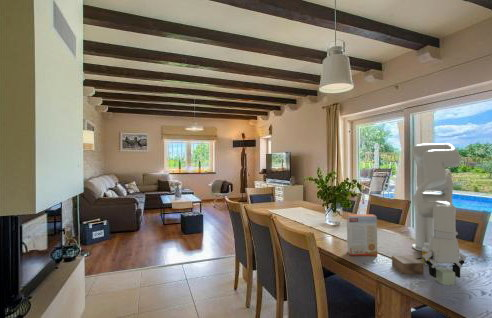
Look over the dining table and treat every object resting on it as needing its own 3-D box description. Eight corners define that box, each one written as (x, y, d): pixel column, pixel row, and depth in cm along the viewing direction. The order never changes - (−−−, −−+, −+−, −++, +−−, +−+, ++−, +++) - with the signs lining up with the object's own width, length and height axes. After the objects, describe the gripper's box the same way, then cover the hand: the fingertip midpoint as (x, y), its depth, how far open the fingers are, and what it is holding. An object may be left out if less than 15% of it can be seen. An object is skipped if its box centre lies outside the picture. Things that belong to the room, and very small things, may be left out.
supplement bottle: (419, 262, 130) (419, 242, 130) (429, 261, 130) (429, 241, 130) (427, 266, 124) (427, 245, 124) (438, 266, 125) (438, 245, 125)
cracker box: (373, 252, 143) (373, 213, 143) (377, 256, 137) (377, 216, 137) (346, 251, 145) (346, 213, 145) (350, 255, 139) (349, 216, 139)
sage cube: (445, 279, 112) (445, 267, 112) (455, 284, 107) (455, 272, 107) (434, 279, 112) (433, 267, 112) (442, 284, 107) (442, 272, 107)
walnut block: (410, 266, 126) (410, 255, 126) (423, 274, 117) (423, 263, 117) (392, 266, 126) (391, 255, 126) (403, 274, 117) (403, 263, 117)
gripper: (457, 231, 113) (458, 272, 113) (417, 232, 113) (417, 272, 113) (472, 237, 105) (473, 280, 105) (429, 237, 105) (429, 280, 105)
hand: (444, 276), depth 109 cm, fingers open, 9 cm apart
